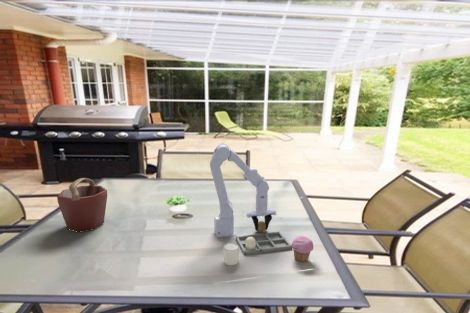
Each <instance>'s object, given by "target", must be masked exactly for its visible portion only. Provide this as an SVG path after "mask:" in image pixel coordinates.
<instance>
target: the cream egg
mask: <svg viewBox="0 0 470 313" xmlns="http://www.w3.org/2000/svg"><path fill="white" fill-rule="evenodd" d="M255 249H256V241H255V239H254V238H253V237H248V238H247V239H246V251H247V250H255Z"/></svg>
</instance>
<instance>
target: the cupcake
mask: <svg viewBox="0 0 470 313" xmlns="http://www.w3.org/2000/svg"><path fill="white" fill-rule="evenodd" d="M291 246H292V250H293V257H294V260H295V261H299V262H300V261H301V262H302V263H303V262H307V261H308V260H309V259H310V255H311V253H312V251H313V250H314V243H313V240H312V239H310V238H308V236H304V235H298V236H296V237H295V239H293V240H292V242H291Z"/></svg>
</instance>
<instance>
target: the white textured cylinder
mask: <svg viewBox="0 0 470 313" xmlns="http://www.w3.org/2000/svg"><path fill="white" fill-rule="evenodd" d="M222 254H223V255H222V256H223V263H224V264H225V265H228V266H235V265H237V264H238V263H239V258H240V256H239V254H240V246H239V244H238V243H235V242H234V243H233V242H229V243H228V242H227V243H225V244H223V246H222Z"/></svg>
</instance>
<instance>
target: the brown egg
mask: <svg viewBox="0 0 470 313" xmlns="http://www.w3.org/2000/svg"><path fill="white" fill-rule="evenodd" d="M266 231H267V230H266V224H265V221H263V220H260V221H259V220H258V231H256V232H257V234H263V233H267V232H266Z"/></svg>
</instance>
